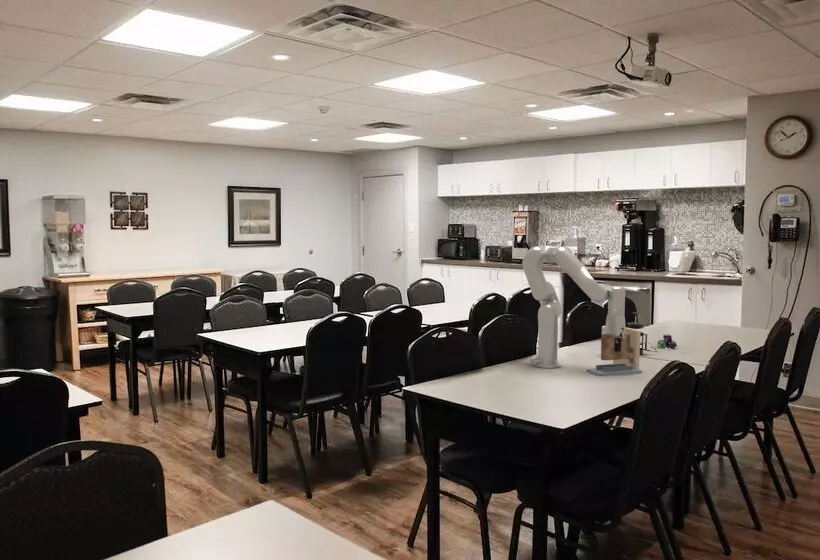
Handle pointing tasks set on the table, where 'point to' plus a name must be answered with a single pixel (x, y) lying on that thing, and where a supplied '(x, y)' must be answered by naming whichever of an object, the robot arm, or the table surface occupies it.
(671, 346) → the mineral sample
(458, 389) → the table surface
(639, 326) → the french press
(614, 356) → the door
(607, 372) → the cabinet side
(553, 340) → the robot arm
